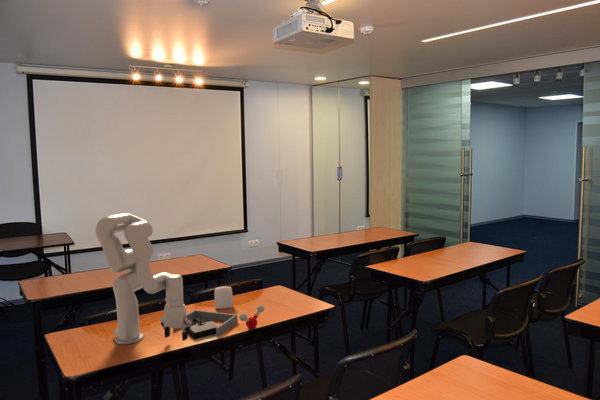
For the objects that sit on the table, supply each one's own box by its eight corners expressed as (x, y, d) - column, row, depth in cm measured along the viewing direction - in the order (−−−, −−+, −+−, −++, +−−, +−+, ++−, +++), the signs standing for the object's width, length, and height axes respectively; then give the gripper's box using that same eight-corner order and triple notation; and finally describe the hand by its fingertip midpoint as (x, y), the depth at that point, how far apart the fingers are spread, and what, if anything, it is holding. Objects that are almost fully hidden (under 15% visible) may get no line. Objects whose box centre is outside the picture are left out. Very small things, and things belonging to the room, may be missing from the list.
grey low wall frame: (173, 330, 216) (172, 322, 215) (195, 317, 233) (195, 309, 233) (218, 336, 206) (217, 328, 206) (237, 322, 224) (237, 314, 224)
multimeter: (206, 322, 226) (205, 313, 226) (220, 334, 210) (220, 324, 210) (181, 328, 219) (180, 318, 218) (194, 340, 203) (194, 330, 202)
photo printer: (214, 309, 244) (213, 288, 243) (215, 307, 249) (214, 286, 248) (233, 308, 246) (232, 287, 245) (233, 305, 250) (232, 284, 249)
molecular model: (247, 335, 206) (246, 315, 205) (237, 333, 209) (236, 313, 208) (266, 323, 222) (265, 304, 221) (256, 321, 224) (255, 302, 223)
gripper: (153, 302, 196) (155, 338, 197) (185, 306, 190) (187, 344, 191) (164, 297, 203) (166, 332, 204) (195, 301, 197) (196, 337, 198)
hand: (176, 338), depth 198 cm, fingers open, 9 cm apart
